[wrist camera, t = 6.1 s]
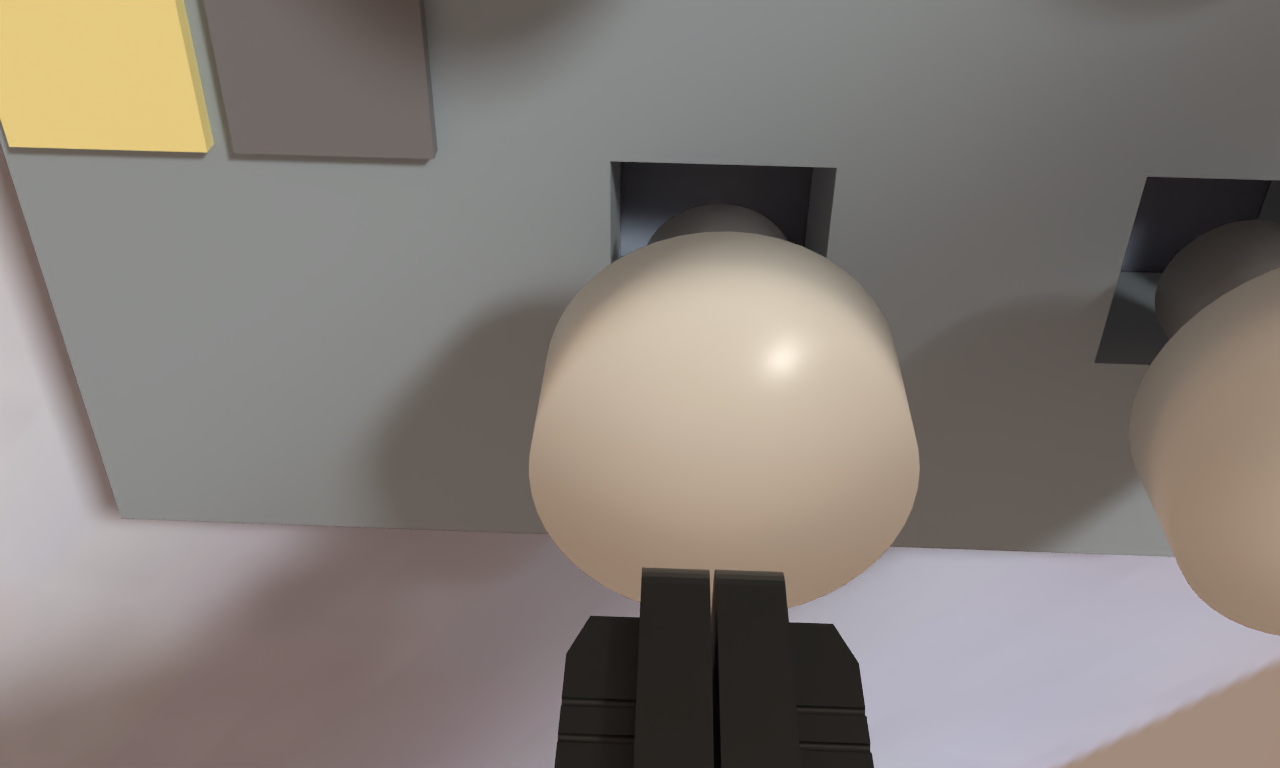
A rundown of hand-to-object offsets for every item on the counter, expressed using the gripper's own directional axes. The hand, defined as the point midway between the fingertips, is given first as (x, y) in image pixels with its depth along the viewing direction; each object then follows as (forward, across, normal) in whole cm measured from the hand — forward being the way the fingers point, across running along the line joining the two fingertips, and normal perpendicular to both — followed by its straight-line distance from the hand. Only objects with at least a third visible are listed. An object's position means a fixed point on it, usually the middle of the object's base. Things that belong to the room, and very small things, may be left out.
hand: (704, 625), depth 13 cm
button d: (+7, 0, 0) cm, 7 cm away
